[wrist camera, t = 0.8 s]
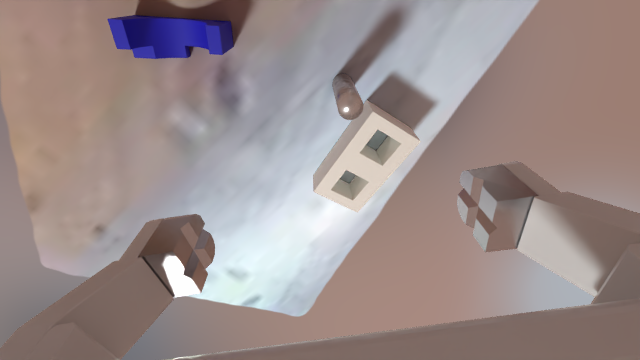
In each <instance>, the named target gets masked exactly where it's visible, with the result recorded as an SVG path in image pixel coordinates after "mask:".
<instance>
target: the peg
mask: <svg viewBox="0 0 640 360" xmlns="http://www.w3.org/2000/svg"><path fill="white" fill-rule="evenodd" d="M332 87H333V91H334V95H335V99H336V103H337V107H338V111H339V114H340V115H341V116H342V117H343V118H344V119H347V120H353V119H356V118H357V117H359V116H360V115H361V113H362V111H363V107H364V106H363V102H362V100H361V98H360V96H359V93H358V91H357V89H356V87H355V85H354V83H353V81H352V79H351V77H350V76H349V75H347V74H339V75H337V76H336V77H335V78H334V80H333V82H332Z"/></svg>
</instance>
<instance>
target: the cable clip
mask: <svg viewBox="0 0 640 360" xmlns="http://www.w3.org/2000/svg"><path fill="white" fill-rule="evenodd" d="M108 22H109V25H110V28H111V31H112V34H113V38H114V41H115V44H116V47H117V49H130V50H131V49H132V50H133V54H134V57H135V58H152V59H158V58H188V57H190V51H189V46H195V47H201V48H205V49H208V50H209V53H210V54H217V55H223V54H224V53H226V52H227V51H228V50H230V49H231V48H232V47H234V46H233V37H232V27H231V21H217V20H202V19H186V18H171V17H155V16H140V15H133V16H126V17H118V18H111V19H108Z"/></svg>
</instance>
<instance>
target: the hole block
mask: <svg viewBox="0 0 640 360" xmlns="http://www.w3.org/2000/svg"><path fill="white" fill-rule="evenodd" d="M363 106H364V107H363V111H362V113H361V115H360V116H359V117H357V118H356V119H353V120H352V121H351V123H350V124H349V125H348V127H347V128H346V130H345V131H344V132H343V134H342V135H341V137H340V138H339V139H338V141H337V142H336V144H335V145H334V147H333V148H332V149H331V151H330V152H329V154H328V155H327V156H326V158H325V159H324V161H323V162H322V163H321V165H320V166H319V168H318V169H317V171H316V172H315V173H314V175H313V188H314V192H315V193H317V194H319V195H321V196H324V197H326V198H328V199H330V200H332V201H334V202H336V203H339V204H341V205H343V206H345V207H347V208H349V209H351V210H353V211H356V212H358V211H359V210H360V209H361V208H362V207H363V206H364V205H365V204H366V202H367V201H368V200H369V199H370V198H371V197H372V196H373V195H374V193H375V192H376V191H377V190H378V189H379V188H380V187H381V186H382V185H383V183H384V182H385V181H386V180H387V179H388V178H389V177H390V176H391V174H392V173H393V172H394V171H395V170H396V169H397V168H398V167H399V165H400V164H401V163H402V162H403V161H404V160H405V159H406V158H407V156H408V155H409V154H410V153H411V152H412V151H413V150H414V149H415V147H416V146H417V145H418V144H419V143H420V142H421V141H420V140H419V138H418V137H417V136H416V134H415V133H414V132H413V130H412V129H411V128H410V127H409V126H407V125H405V124H404V123H402V122H401V121H399V120H398V119H396V118H394V117H393V116H391V115H390V114H388V113H387V112H385V111H384V110H382V109H380V108H379V107H377V106H376V105H374V104H373V103H371V102H369V101H368V100H366V101H365V103H364V104H363ZM377 130H380V131H381V132H383V133H385V134H386V135H388V137H387V138H386V139H385V140H384V142H383V143H382V144H381V145H380V147H379V148H378V149H377V150H374V149H372V148H370V147H369V146H367V145H366V144H367V143H368V141H369V140H370V139H371V137H372V136H373V135H374V134H375V132H376V131H377ZM346 170H347V171H349V172H351V173H353V174H355V175H356V176H355V177H354V179H353V180H352V181H351V182H350V184H349V183H347V182H345V181H343V180H341V179H340V177H341V176H342V175H343V174H344V172H345V171H346Z"/></svg>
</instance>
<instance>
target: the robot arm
mask: <svg viewBox="0 0 640 360" xmlns="http://www.w3.org/2000/svg"><path fill="white" fill-rule="evenodd" d="M460 184H461V185H462V186H463V187H464V189H463V190H462V191H461V192H460V193H459V194H458V202H457V204H458V210H459V213H460V216H461V218H462V220H463V221H464V223H465V224H466V225H468V226H470V227H472V228H474V233H473V235H474V237H475V238H476V240H477V241H478V243H479V244H480V245H481V247H482V248H483V250H484V251H485V252H491V251H500V250H508V249H517V250H518V251H519V252H521V253H523V254H524V255H526V256H528V257H529V258H531V259H533V260H535V261H536V262H538V263H539V264H541V265H543V266H544V267H546V268H548V269H549V270H551V271H553V272H554V273H556V274H557V275H559V276H561V277H562V278H564V279H566V280H568V281H569V282H571V283H572V284H574V285H576V286H577V287H579V288H581V289H582V290H584V291H586V292H587V293H589V294H590V295H592V296H594V297H595V298H594V300H593V301H592V303H591V304H590V305H583V306H575V307H567V308H560V309H552V310H544V311H536V312H529V313H520V314H513V315H506V316H497V317H490V318H482V319H474V320H467V321H459V322H452V323H443V324H436V325H428V326H420V327H413V328H405V329H398V330H389V331H382V332H374V333H367V334H359V335H351V336H343V337H335V338H328V339H320V340H313V341H304V342H296V343H289V344H282V345H273V346H266V347H258V348H250V349H242V350H234V351H227V352H219V353H211V354H203V355H196V356H188V357H181V358H172V359H164V360H640V213H637V212H633V211H630V210H626V209H623V208H620V207H617V206H613V205H610V204H607V203H603V202H600V201H597V200H593V199H590V198H587V197H583V196H580V195H577V194H574V193H570V192H562V193H561V192H560V191H558V190H557V189H556V188H555V187H553V186H552V185H551V184H549V183H548V182H547V181H545V180H544V179H543V178H541V177H540V176H539V175H538V174H536V173H535V172H534V171H532V170H531V169H530V168H528V167H527V166H526V165H524V164H523V163H521V162H518V161H515V162H510V163H504V164H499V165H497V166H491V167H484V168H478V169H472V170H467V171H463V172H462V174H461V177H460ZM204 224H205V223H204V221H203V220H202V218H201V216H200V215H197V214H192V215H185V216H178V217H170V218H165V219H157V220H151V221H149V222H147V223H146V224H145V225H144V227H143V228H142V229H141V231H140V232H139V233H138V235H137V236H136V238H135V239H134V240H133V242H132V243H131V244H130V246H129V247H128V249H127V250H126V251H125V253H124V254H123V255H122V257H121V258H120V260H119V261H114V262H112V263H111V264H109V265H108V266H106V267H105V268H104V269H102V270H101V271H99V272H98V273H96V274H95V275H94V276H92V277H91V278H89V279H88V280H86V281H85V282H84V283H82V284H81V285H79V286H78V287H77V288H75V289H74V290H72V291H71V292H69V293H68V294H67V295H65V296H64V297H62V298H61V299H59V300H58V301H57V302H55V303H54V304H52V305H51V306H49V307H48V308H47V309H45V310H44V311H42V312H41V313H39V314H38V315H36V316H35V317H34V318H32V319H31V320H29V321H28V322H26V323H25V324H24V325H22V326H21V327H19V328H18V329H17V330H16V331H15V332H14V334H13V335H12V336H11V337H10V338H9V339H8V340H7V341H6V343H5V344H4V345H3V346H2V347H1V348H0V360H121V359H122V357H123V356H124V355H125V354H126V353H127V352H128V351H129V349H130V348H131V347H132V346H133V345H134V344H135V343H136V341H137V340H138V339H139V338H140V337H141V336H142V335H143V334H144V332H145V331H146V330H147V329H148V328H149V327H150V326H151V325H152V323H153V322H154V321H155V320H156V319H157V318H158V317H159V316H160V314H161V313H162V312H163V311H164V310H165V309H166V308H167V306H168V305H169V304H170V303H171V302H172V301H173V300H174V297H180V296H186V295H192V294H197V293H201V292H202V289H203V286H204V284H205V281H206V278H207V275H208V273H207V271H206V268H207V267H208V266H209V265H210V264H211V263H212V261H213V258H214V255H215V244H214V240H213V238H212V236H211V234H210V233H209V232H207V231H205V230H204V229H203V227H204Z"/></svg>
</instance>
